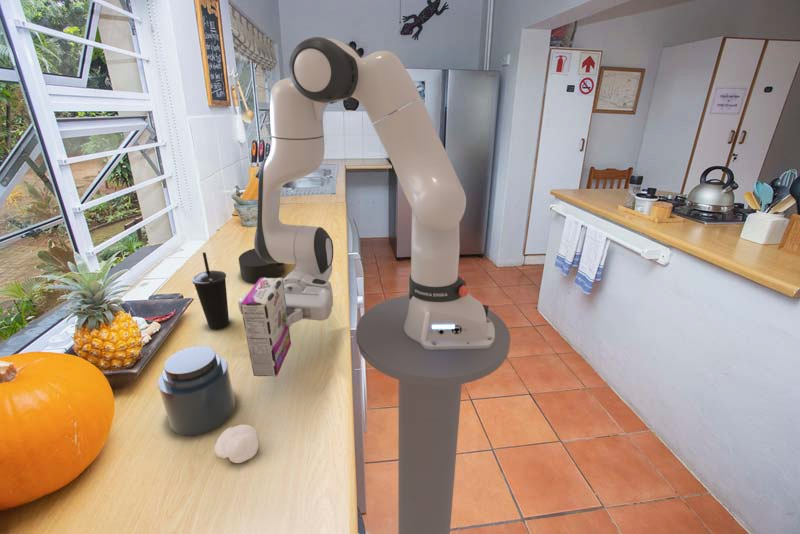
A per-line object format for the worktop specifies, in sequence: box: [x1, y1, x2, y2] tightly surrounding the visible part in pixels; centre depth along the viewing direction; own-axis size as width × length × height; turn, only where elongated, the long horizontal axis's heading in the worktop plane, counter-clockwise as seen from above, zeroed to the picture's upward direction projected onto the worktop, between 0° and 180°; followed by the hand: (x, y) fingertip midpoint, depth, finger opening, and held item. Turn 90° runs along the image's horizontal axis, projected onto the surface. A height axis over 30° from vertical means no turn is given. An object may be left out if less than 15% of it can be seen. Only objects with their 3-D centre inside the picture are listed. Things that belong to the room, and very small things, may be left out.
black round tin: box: [238, 247, 286, 285], centre depth 130 cm, size 14×18×8 cm
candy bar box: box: [240, 277, 292, 377], centre depth 77 cm, size 11×5×16 cm, turn 0°
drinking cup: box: [191, 251, 230, 330], centre depth 96 cm, size 8×8×20 cm
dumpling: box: [214, 424, 259, 464], centre depth 63 cm, size 7×5×4 cm
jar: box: [157, 345, 236, 437], centre depth 69 cm, size 11×11×12 cm
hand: (270, 322), depth 78 cm, fingers closed on candy bar box, 5 cm apart
